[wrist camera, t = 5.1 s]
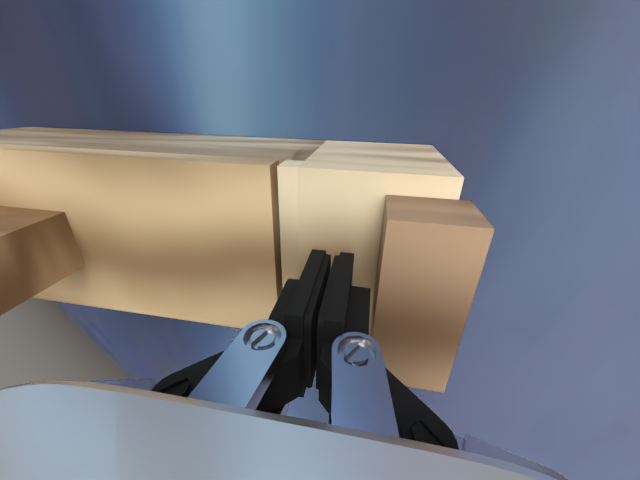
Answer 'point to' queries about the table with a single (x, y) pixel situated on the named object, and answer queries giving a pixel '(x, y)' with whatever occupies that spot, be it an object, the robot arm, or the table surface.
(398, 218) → the brown wooden block
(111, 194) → the lid
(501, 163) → the table surface
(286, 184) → the light wooden long piece
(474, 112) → the table surface
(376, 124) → the table surface
